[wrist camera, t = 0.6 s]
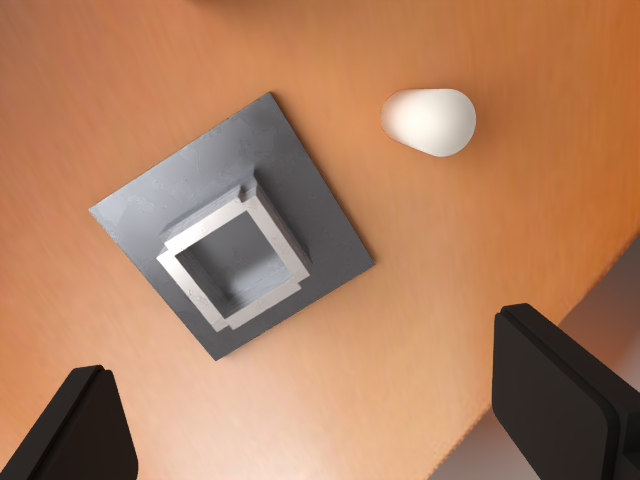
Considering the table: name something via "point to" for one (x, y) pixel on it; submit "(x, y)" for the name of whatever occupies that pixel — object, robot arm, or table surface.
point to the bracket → (236, 229)
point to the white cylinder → (429, 120)
